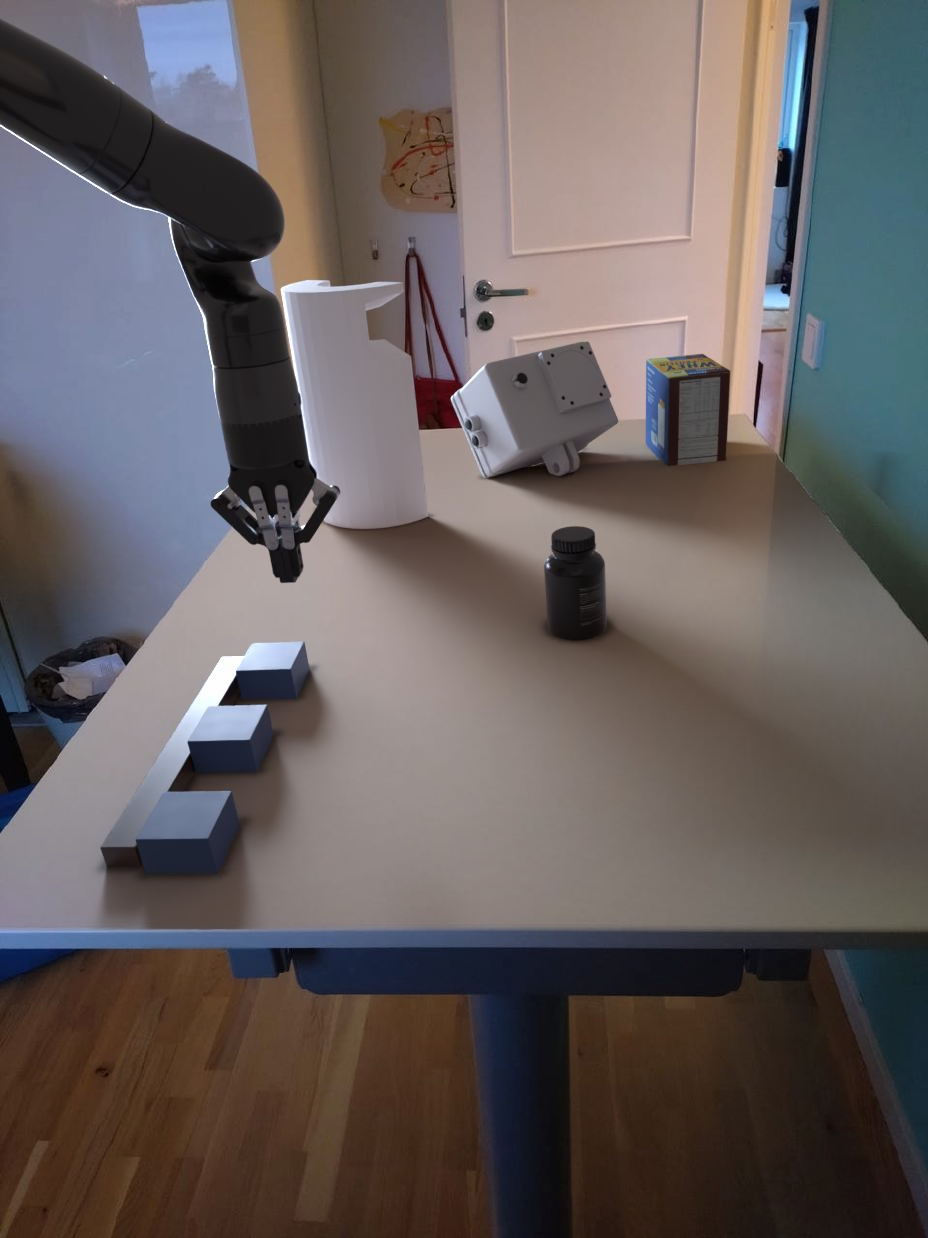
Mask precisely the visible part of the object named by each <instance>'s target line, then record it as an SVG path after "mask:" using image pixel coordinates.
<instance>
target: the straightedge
mask: <svg viewBox="0 0 928 1238" xmlns="http://www.w3.org/2000/svg"><path fill="white" fill-rule="evenodd" d="M244 656H245V655H241V656H221V658H220V659H219V661H218V662H217V663H216V665H215V667H214V669H212V672H210V675H209V676H208V677H207V679H206V680H205V682H204V684H203V685H202V687H201V688H200V690H199V692H198V694H197V695H196V696H195V698H194V700H193V701H192V703H191V705H190V706H189V708H188V709H187V711H186V713H184V715H183V717H182V718H181V720H180V722H179V723H178V725H177V727H176V728H175V730H174V731H173V733H172V734H171V736H170V738H169V739H168V740H167V742H166V744H165V745H164V746H163V748H162V750H161V751H160V753H159V755H158V756H157V758H156V759H155V761H154V762H153V764H152V766H151V767H150V769H149V770H148V772H147V773H146V775H145V776H144V778H143V780H142V781H141V783H140V785H139V786H138V787H137V789H136V791H135V792H134V794H133V795H132V797H131V799H130V800H129V802H128V803H127V804H126V806H125V808H124V809H123V811H122V812H121V814H120V816H119V818H118V819H117V821H116V822H115V824H114V825H113V827H112V828H111V830H110V832H109V833H108V834H107V836H106V838H105V839H104V841H103V842H102V844H101V846H100V848H99V849H100V852H101V855H102V857H103V860H104V863H105V866H106V868H129V867H130V868H141V867H142V866H143V862H142V859H141V856H140V853H139V850H138V847H137V844H136V838H137V836H138V834H139V833H140V831H141V829H142V828H143V826H144V824H145V823H146V821H147V819H148V818H149V816H150V814H151V812H152V811H153V809H154V807H155V806H156V804H157V802H158V801H159V799H160V797H161V796H162V794H163V792H185V790H186V788H187V786H188V785H189V783H190V781H191V779H192V777H193V776H194V774H195V773H196V772H195V769H194V765H193V761H192V757H191V754H190V750H189V746H188V743H187V741H188V740H189V738H190V736H191V735H192V733H193V731H194V730H195V728H196V726H197V725H198V723H199V721H200V720H201V718H202V716H203V715H204V713H205V711H206V710H207V708H208V707H209V706H234V703H235V701H236V700H237V698H238V696H239V694H240V689H239V684H238V680H237V676H236V669H237V667H238V666H239V664H240V662H241V661H242V659H243V657H244Z"/></svg>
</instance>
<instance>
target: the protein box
mask: <svg viewBox="0 0 928 1238" xmlns="http://www.w3.org/2000/svg"><path fill="white" fill-rule="evenodd" d="M645 361H646V362H645V365H646V366H645V445H646V446H647V447H648V448H649V449H650V451H652V453H653V454H654V455H655V457H657V459H658V460H660V461H662V463H663V464H664V465H665V466H666V467H671V466H672V467H673V466H680V465H681V466H682V465H694V464H702V463H703V464H704V463H713V462H715V463H716V462H725V461H727V452H728V451H727V450H728V449H727V448H728V447H727V446H728V433H729V431H728V429H729V411H730V387H731V373H732V371H731V370H730V369H728V368H727V367H725V366H723V365H722V364H721V363H718V362H717V361H716V360H714V359H712V358H710V357H709V356H707V355H705V354H704V353H696V354H686V355H677V356H666V357H655V358H647V359H646V360H645Z"/></svg>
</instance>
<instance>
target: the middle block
mask: <svg viewBox="0 0 928 1238" xmlns="http://www.w3.org/2000/svg"><path fill="white" fill-rule="evenodd" d="M274 736H275V733H274V728H273V723H272V718H271V714H270V710H269V706H268V704H250V705H248V704H242V705H241V704H240V705H239V704H238V705H232V706H209V707H208V708H207V710H206V711H205V713H204V715H203V716H202V718H201V720H200V721H199V723H198V725H197V726H196V728H195V730H194V731H193V733H192V735H191V736H190V738H189V740H188V741H187V743H188V746H189V750H190V754H191V757H192V761H193V765H194V769H195V772H194V773H196V774H198V773H199V774H201V773H203V774H204V773H205V774H206V773H248V772H249V773H250V772H258V771H259V769H260V766H261V764H262V762H263V760H264V758H265V755H266V754H267V751H268V749H269V747H270V745H271V742H272V740H273V738H274Z"/></svg>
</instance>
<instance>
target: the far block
mask: <svg viewBox="0 0 928 1238" xmlns="http://www.w3.org/2000/svg"><path fill="white" fill-rule="evenodd" d="M243 656H244V657H243V659H242V661H241V662H240V664H239V666H238V667H237V669H236V676H237V680H238V684H239V689H240V692H239V694H240V697H241V700H274V699H278V700H279V699H297V698H298V696H299V694H300V691H301V689H302V687H303V685H304V683H305V680H306V679H307V676H308V674H309V672H310V664H309V663H310V662H309V659H308V652H307V648H306V642H305V641H277V642H276V641H275V642H252V643H251V644H250V646H249V647H248V649H247V650H246V652H245V653H244V655H243Z"/></svg>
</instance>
